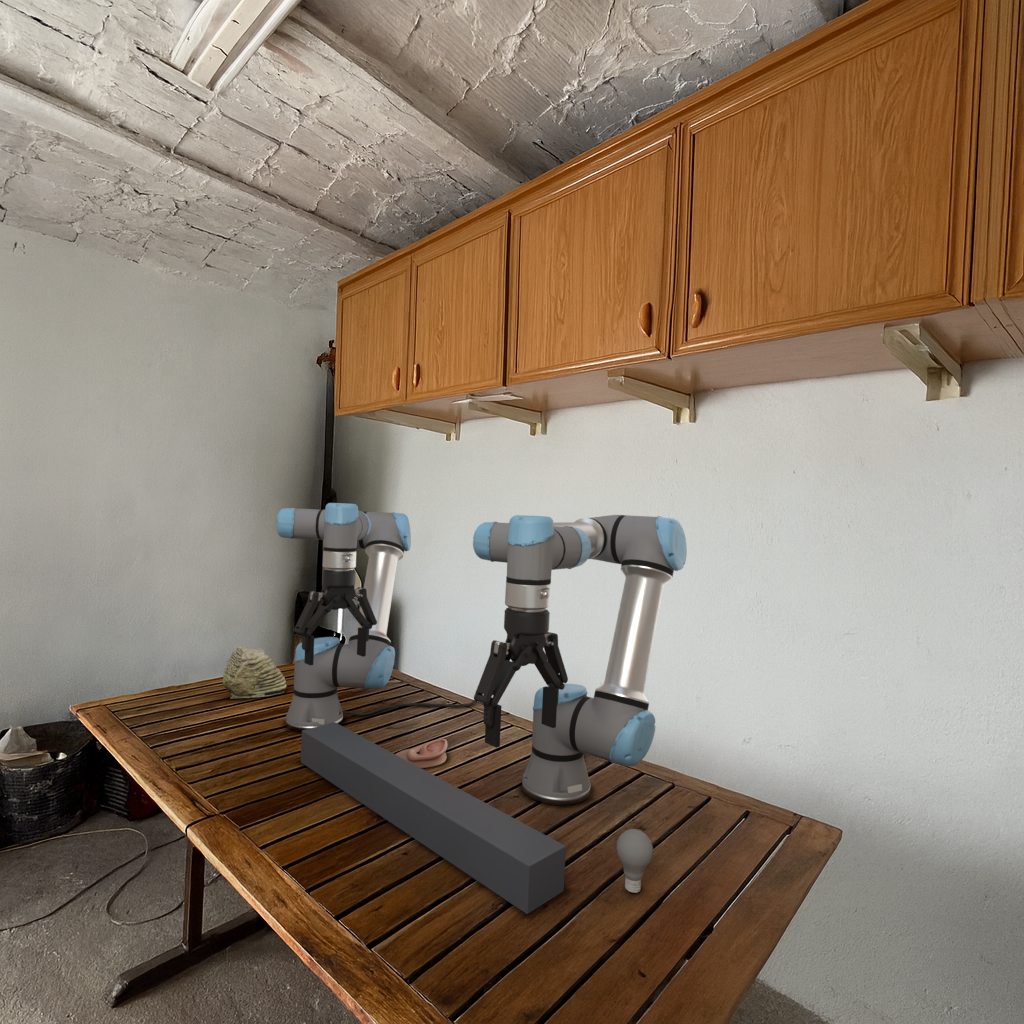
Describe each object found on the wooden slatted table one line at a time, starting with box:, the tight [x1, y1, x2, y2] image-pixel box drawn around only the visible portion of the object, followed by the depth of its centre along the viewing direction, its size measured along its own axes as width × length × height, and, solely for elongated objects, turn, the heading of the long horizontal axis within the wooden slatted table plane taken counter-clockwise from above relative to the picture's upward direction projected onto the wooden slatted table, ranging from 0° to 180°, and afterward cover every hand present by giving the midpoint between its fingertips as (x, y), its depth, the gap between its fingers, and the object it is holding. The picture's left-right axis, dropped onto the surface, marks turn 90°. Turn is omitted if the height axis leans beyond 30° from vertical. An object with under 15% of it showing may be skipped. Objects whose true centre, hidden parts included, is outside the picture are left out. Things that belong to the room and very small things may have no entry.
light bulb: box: [615, 828, 654, 894], centre depth 106 cm, size 6×6×10 cm
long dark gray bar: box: [300, 723, 567, 915], centre depth 128 cm, size 74×9×8 cm, turn 45°
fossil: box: [222, 646, 288, 699], centre depth 198 cm, size 9×18×15 cm, turn 132°
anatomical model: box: [394, 738, 449, 769], centre depth 154 cm, size 13×4×12 cm
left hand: (335, 659), depth 148 cm, fingers open, 13 cm apart
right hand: (521, 734), depth 106 cm, fingers open, 13 cm apart
